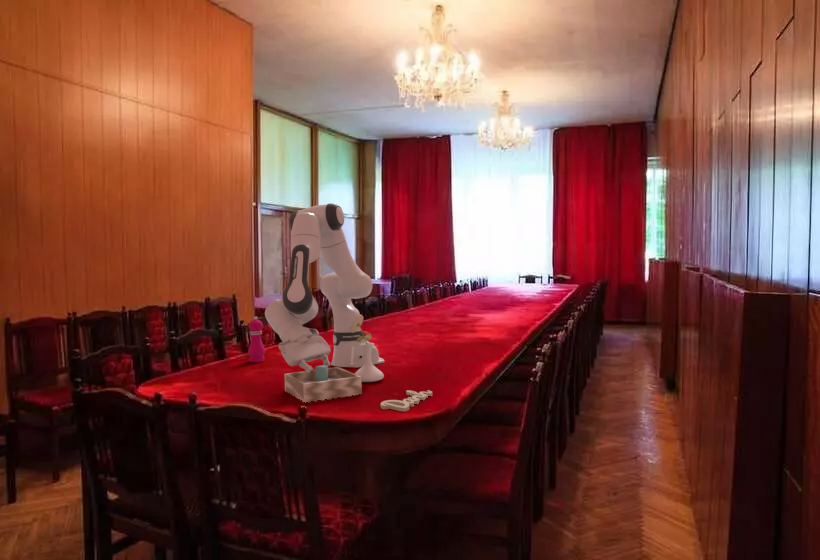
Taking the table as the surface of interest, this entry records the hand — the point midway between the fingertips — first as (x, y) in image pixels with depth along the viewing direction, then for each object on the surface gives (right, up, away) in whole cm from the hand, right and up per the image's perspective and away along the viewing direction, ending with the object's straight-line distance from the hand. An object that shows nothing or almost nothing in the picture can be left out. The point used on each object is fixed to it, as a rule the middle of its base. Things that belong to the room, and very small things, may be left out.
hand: (320, 368), depth 209 cm
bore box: (+1, -8, 0) cm, 8 cm away
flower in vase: (+15, -7, +15) cm, 23 cm away
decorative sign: (+30, -9, -15) cm, 35 cm away
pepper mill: (-37, -6, +63) cm, 73 cm away
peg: (+1, -8, -1) cm, 8 cm away
